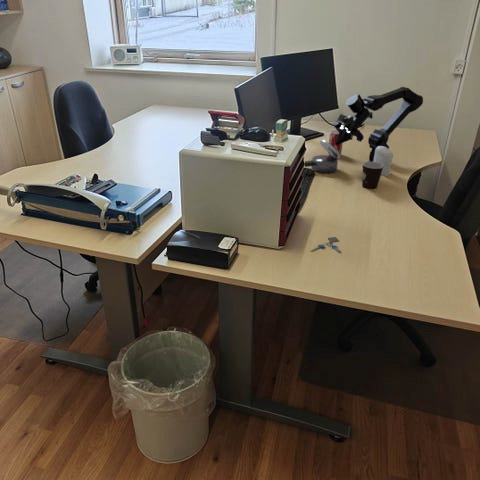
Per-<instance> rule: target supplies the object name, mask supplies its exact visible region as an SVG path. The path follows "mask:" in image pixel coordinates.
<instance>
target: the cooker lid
mask: <svg viewBox="0 0 480 480" xmlns="http://www.w3.org/2000/svg"><path fill="white" fill-rule="evenodd" d="M319 144H320V146H321V147H322V148H323V149H324V150H326V152H327V153H328V152H329V153H330V154H331V155H332V157H335V158H337V159H338V160H339V159H340V158H341V155H342V154H339V152H338V151H337V150H336V149H335V148H334V147H333V146H332V145H331V144H329V141H327V140H325V139H321V140H320V141H319ZM330 154H329V155H330ZM331 155H330V156H331Z"/></svg>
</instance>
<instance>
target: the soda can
mask: <svg viewBox="0 0 480 480" xmlns="http://www.w3.org/2000/svg"><path fill="white" fill-rule="evenodd" d="M338 134H339V132H338V131H337V130H332V131H331V133H330V134H329V139H328V143H329V144H331V145H332V146H333V147H334V148H335V149H336V150H337V151H338V152H339V154H340V155H342V150H343V144H344V142H343V143H341V144H339V145H335V142H336V139H337V137H338ZM327 153H328V155H329V156H332V155H331V154H330V153H329V152H328V151H327ZM332 157H333V156H332Z"/></svg>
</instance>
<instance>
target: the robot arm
mask: <svg viewBox="0 0 480 480" xmlns="http://www.w3.org/2000/svg"><path fill="white" fill-rule="evenodd" d="M399 99H400V100H401V99H402V102H401V106H400V108H399V109H398V110H397V111H396V112H395V113H394V114H393V115H392V116H391V118H390V119H388V121H387V122H386V123H385V124H384V125H383V127H381V129H377V128H375V129H374V130H373V132H372V133H370V134H369V136H368V138H367V139H368V141H367V142H368V146H369V149H371V151H370V152H369V157H368V162H373V160H374V155H375V150H376V148H377V147H378V146H384V147H387V148H388V149H389V150H390V146H389V145H388V144H387V143H388V142H389V138H390V135H391V134H392V133H393V131H394V130H396V128H397V127H399V125H400V124H401V123H402V122H403V121H404V119H405V118H406V117H407V116H408V115H409V114H410V113H412V112H414V111H415V112H416V111H417V110H418V109H419V108H420V107H421V106H422V105H423V103H424V96H422V95H420V94H418V93H416V92H414V91H413V90H411V89H410V88H409V87H406V86H400V87H399V88H397V89H394V90H391V91H388V92H385V93H383V94H376V95H375V94H374V95H367V96H366V97H365V98H362V96H361V94H359V93H356V94H354V95H351V96H350V97H349V98H347V100H346V101H345V102H346V105H347V107H348V108H349V109H350V111H351V112H352V113H353V115H348V116H347V115H344V114H342V113H340V115H339V116H338V118H337V120H334V121H333V123H331V124H332V126H333V127H334V128H335V131H338V132H339V134H338V137H337V139H336V142H335V145H339V144H341V143H343V144H344V143H346V142H348V141H350V140H351V141H352V140H353V139H354V138H353V137H355V138H356V141H357V142H362V141H363V140H364V135H363V133H362V132H361V131H360V130H359V129H360V128H362V127H363V124H364V123H365V121H366V120H367V119H368V118H369V119H373V117H374V116H373V112H375V111H378V110H381V109H382V108H383V107H384V106H385V105H387V104H389V103H392V102H395V101H398V100H399ZM370 110H371V111H370ZM372 111H373V112H372Z"/></svg>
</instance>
